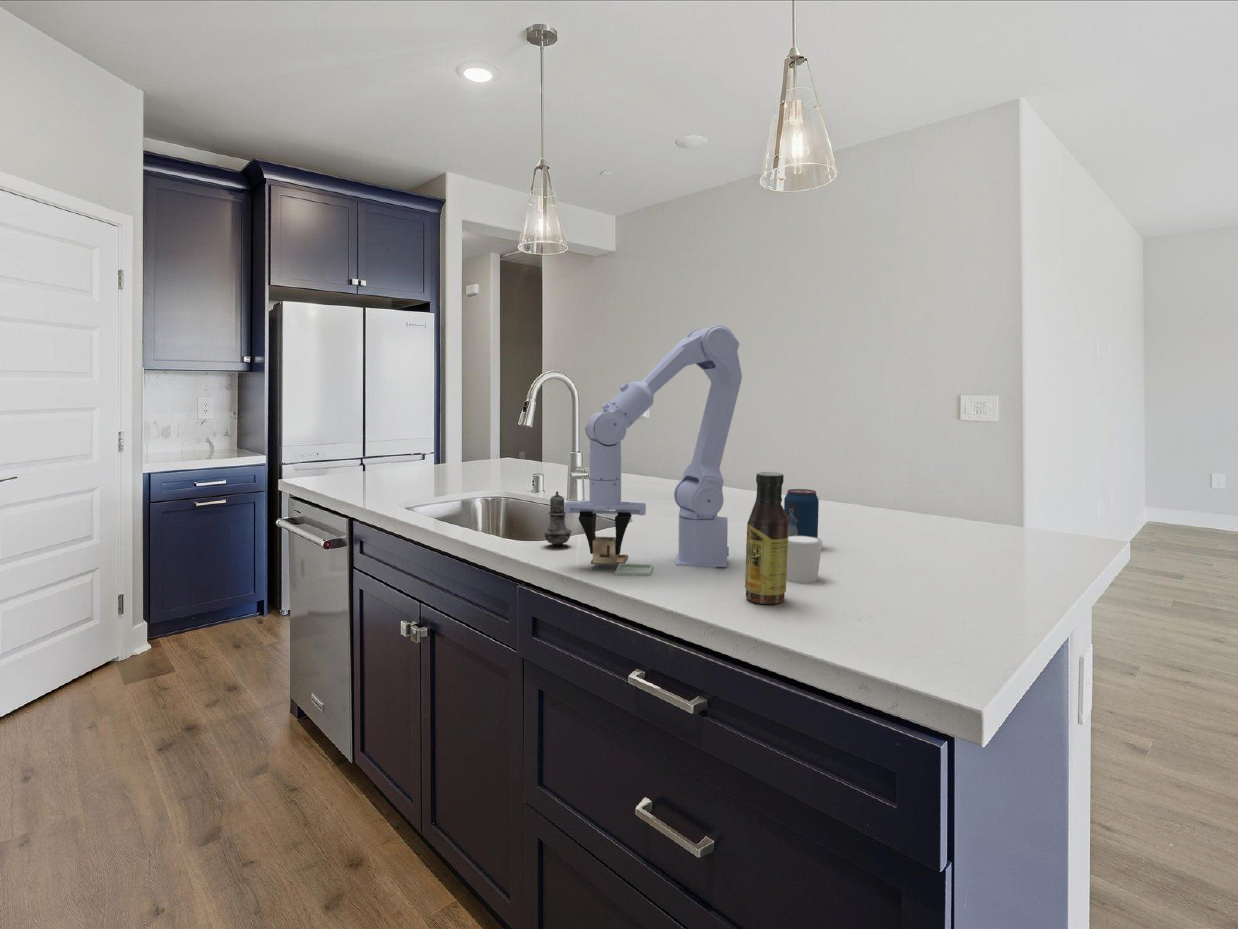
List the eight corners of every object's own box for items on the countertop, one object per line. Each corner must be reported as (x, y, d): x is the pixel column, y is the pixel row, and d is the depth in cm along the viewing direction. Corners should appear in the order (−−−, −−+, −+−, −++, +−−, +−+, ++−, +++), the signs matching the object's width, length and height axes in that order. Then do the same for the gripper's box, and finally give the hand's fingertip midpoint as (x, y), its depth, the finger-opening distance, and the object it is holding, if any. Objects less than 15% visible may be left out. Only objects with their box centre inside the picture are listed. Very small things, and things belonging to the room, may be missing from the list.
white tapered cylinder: (799, 585, 114) (800, 544, 113) (771, 576, 120) (772, 537, 119) (829, 580, 117) (831, 540, 116) (801, 571, 123) (802, 533, 122)
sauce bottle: (740, 594, 108) (742, 470, 106) (778, 593, 109) (781, 470, 107) (751, 607, 102) (754, 475, 100) (792, 606, 102) (795, 475, 100)
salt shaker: (567, 552, 138) (567, 493, 137) (539, 550, 139) (539, 492, 138) (575, 545, 144) (574, 489, 143) (548, 544, 145) (547, 488, 144)
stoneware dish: (653, 568, 125) (653, 564, 124) (650, 577, 118) (650, 573, 118) (619, 567, 125) (619, 563, 125) (614, 576, 119) (614, 571, 119)
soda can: (817, 545, 145) (819, 489, 144) (817, 552, 138) (819, 493, 137) (783, 543, 147) (785, 488, 146) (782, 550, 140) (783, 492, 139)
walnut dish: (628, 558, 132) (628, 554, 132) (623, 566, 126) (623, 562, 126) (596, 557, 133) (596, 553, 133) (590, 565, 127) (590, 561, 127)
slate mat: (618, 566, 126) (618, 564, 126) (615, 572, 122) (615, 570, 122) (595, 566, 127) (595, 563, 127) (591, 572, 122) (591, 569, 122)
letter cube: (617, 558, 126) (617, 536, 125) (614, 563, 122) (614, 541, 121) (596, 557, 126) (596, 536, 126) (592, 563, 122) (592, 540, 122)
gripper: (560, 480, 120) (561, 556, 121) (643, 482, 118) (642, 559, 119) (569, 476, 126) (569, 548, 128) (647, 477, 125) (646, 550, 126)
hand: (605, 553), depth 124 cm, fingers closed on letter cube, 4 cm apart
